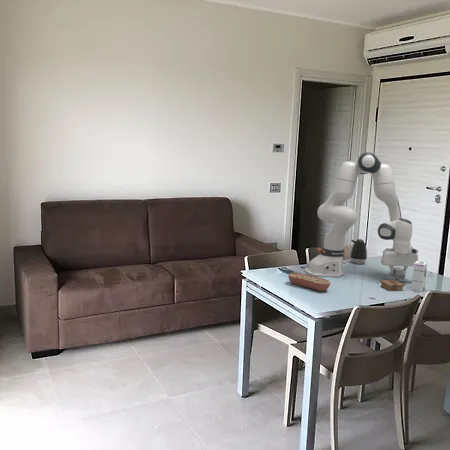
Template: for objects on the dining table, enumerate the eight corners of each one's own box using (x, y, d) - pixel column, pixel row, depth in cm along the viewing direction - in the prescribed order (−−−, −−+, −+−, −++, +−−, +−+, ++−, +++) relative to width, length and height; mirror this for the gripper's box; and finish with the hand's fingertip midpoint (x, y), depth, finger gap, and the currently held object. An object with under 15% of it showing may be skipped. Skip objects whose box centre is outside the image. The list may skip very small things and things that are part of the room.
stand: (388, 291, 256) (389, 285, 255) (379, 285, 264) (379, 280, 264) (404, 290, 258) (404, 284, 258) (394, 285, 267) (394, 279, 266)
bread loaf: (284, 284, 259) (285, 274, 258) (294, 280, 266) (295, 271, 266) (323, 294, 245) (324, 285, 244) (333, 290, 252) (334, 281, 251)
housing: (396, 279, 269) (397, 270, 268) (389, 275, 275) (390, 267, 275) (404, 279, 270) (405, 270, 269) (397, 275, 277) (398, 267, 276)
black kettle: (348, 260, 317) (350, 236, 315) (364, 261, 316) (367, 238, 314) (350, 264, 307) (352, 240, 305) (367, 265, 307) (370, 241, 304)
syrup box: (422, 291, 258) (425, 264, 255) (410, 289, 261) (413, 262, 258) (424, 289, 263) (427, 262, 260) (412, 286, 266) (416, 260, 263)
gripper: (386, 249, 265) (383, 274, 267) (421, 250, 269) (417, 275, 271) (380, 246, 271) (377, 271, 273) (414, 248, 275) (410, 272, 277)
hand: (397, 273), depth 272 cm, fingers open, 5 cm apart
